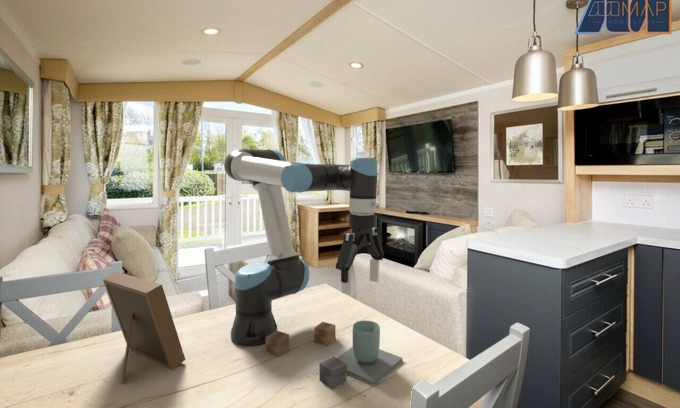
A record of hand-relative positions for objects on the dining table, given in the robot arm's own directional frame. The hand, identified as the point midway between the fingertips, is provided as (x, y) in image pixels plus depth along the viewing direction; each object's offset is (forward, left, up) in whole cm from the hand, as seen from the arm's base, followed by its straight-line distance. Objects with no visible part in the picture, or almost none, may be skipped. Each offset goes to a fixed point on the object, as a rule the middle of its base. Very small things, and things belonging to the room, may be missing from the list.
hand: (360, 286), depth 99 cm
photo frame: (-48, -42, -22) cm, 67 cm away
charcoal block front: (0, -13, -22) cm, 26 cm away
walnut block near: (-23, -12, -22) cm, 34 cm away
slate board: (+2, 0, -22) cm, 22 cm away
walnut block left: (-16, +2, -22) cm, 27 cm away
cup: (+2, 0, -21) cm, 21 cm away
